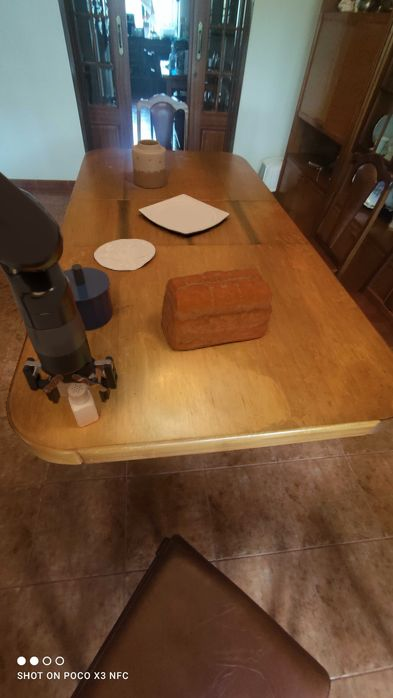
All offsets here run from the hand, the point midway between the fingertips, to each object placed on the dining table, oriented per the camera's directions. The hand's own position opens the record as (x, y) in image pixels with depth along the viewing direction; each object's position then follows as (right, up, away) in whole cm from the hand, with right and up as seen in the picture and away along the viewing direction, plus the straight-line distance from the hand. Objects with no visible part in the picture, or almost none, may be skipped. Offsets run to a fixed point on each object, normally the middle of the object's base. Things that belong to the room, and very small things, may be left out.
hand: (81, 399), depth 58 cm
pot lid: (-7, +25, +19) cm, 32 cm away
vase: (-1, +89, +93) cm, 129 cm away
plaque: (-2, +41, +47) cm, 63 cm away
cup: (-6, +2, +10) cm, 12 cm away
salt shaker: (-1, -4, +5) cm, 6 cm away
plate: (+16, +62, +69) cm, 94 cm away
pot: (-8, +18, +26) cm, 32 cm away
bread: (+26, +15, +25) cm, 39 cm away
